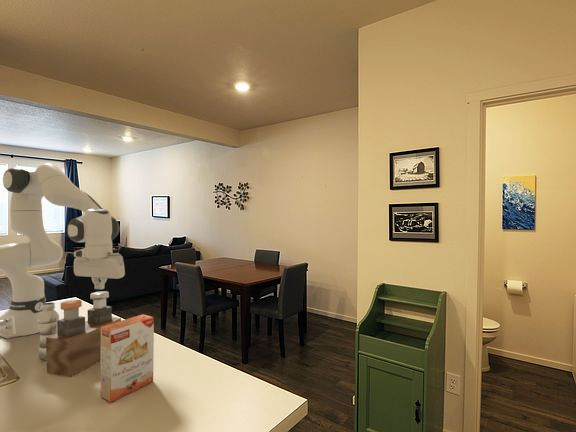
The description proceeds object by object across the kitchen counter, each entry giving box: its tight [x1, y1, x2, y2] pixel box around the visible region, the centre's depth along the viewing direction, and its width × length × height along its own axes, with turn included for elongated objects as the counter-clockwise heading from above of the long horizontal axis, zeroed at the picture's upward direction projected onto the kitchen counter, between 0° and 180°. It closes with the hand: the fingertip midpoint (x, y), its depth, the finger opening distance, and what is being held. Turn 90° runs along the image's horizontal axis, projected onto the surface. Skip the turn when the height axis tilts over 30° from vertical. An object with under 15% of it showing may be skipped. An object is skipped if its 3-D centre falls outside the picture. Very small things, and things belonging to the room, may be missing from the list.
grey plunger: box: [90, 290, 110, 310], centre depth 124 cm, size 6×6×6 cm
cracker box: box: [100, 313, 155, 403], centre depth 100 cm, size 14×6×21 cm, turn 148°
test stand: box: [46, 305, 122, 378], centre depth 118 cm, size 10×22×17 cm, turn 165°
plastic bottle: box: [37, 301, 60, 361], centre depth 120 cm, size 6×7×20 cm
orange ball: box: [60, 299, 83, 321], centre depth 112 cm, size 6×6×6 cm
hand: (99, 288), depth 124 cm, fingers closed
